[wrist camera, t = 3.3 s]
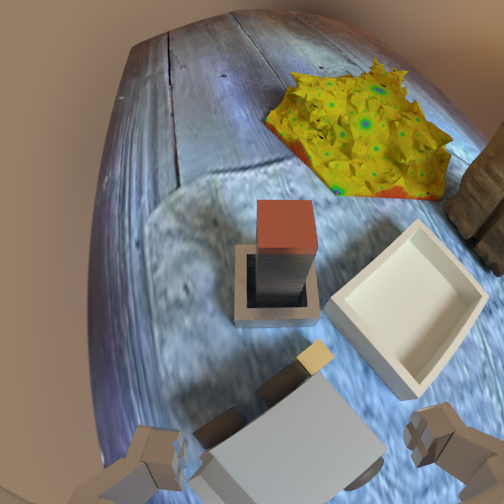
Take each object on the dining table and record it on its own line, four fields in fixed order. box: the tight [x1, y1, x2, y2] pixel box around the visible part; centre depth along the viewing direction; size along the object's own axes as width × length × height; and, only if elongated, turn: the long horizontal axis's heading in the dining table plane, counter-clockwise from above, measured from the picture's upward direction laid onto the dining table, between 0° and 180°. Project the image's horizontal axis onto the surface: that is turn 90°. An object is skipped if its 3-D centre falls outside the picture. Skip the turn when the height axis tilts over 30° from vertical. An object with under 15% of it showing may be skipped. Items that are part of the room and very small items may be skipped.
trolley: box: [187, 360, 388, 504], centre depth 16 cm, size 10×11×12 cm
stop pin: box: [255, 200, 318, 308], centre depth 23 cm, size 4×4×11 cm
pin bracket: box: [234, 244, 321, 328], centre depth 27 cm, size 7×7×2 cm
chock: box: [292, 339, 335, 379], centre depth 24 cm, size 2×2×2 cm
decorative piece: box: [265, 57, 453, 201], centre depth 37 cm, size 26×8×30 cm
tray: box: [322, 219, 489, 401], centre depth 25 cm, size 14×12×3 cm
